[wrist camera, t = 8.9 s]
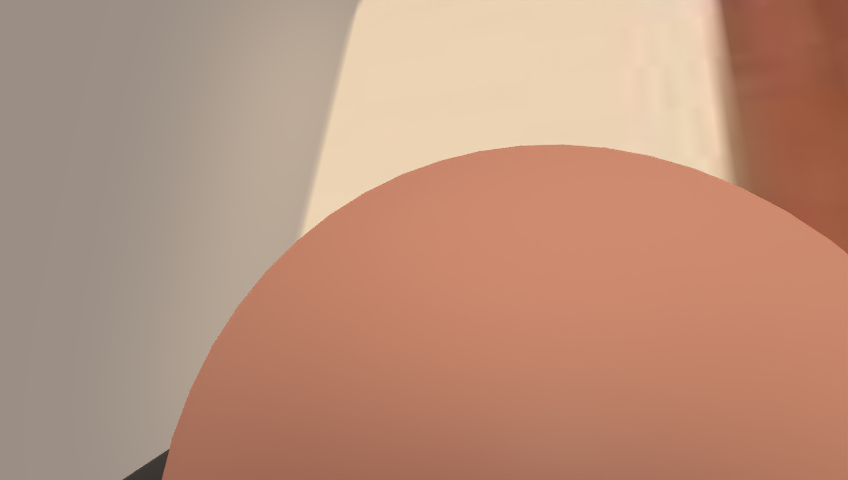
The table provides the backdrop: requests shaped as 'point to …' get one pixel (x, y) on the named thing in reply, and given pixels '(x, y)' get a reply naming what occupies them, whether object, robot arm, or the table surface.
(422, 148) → the table surface
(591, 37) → the table surface
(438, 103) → the table surface
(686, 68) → the table surface
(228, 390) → the banded pink rod
